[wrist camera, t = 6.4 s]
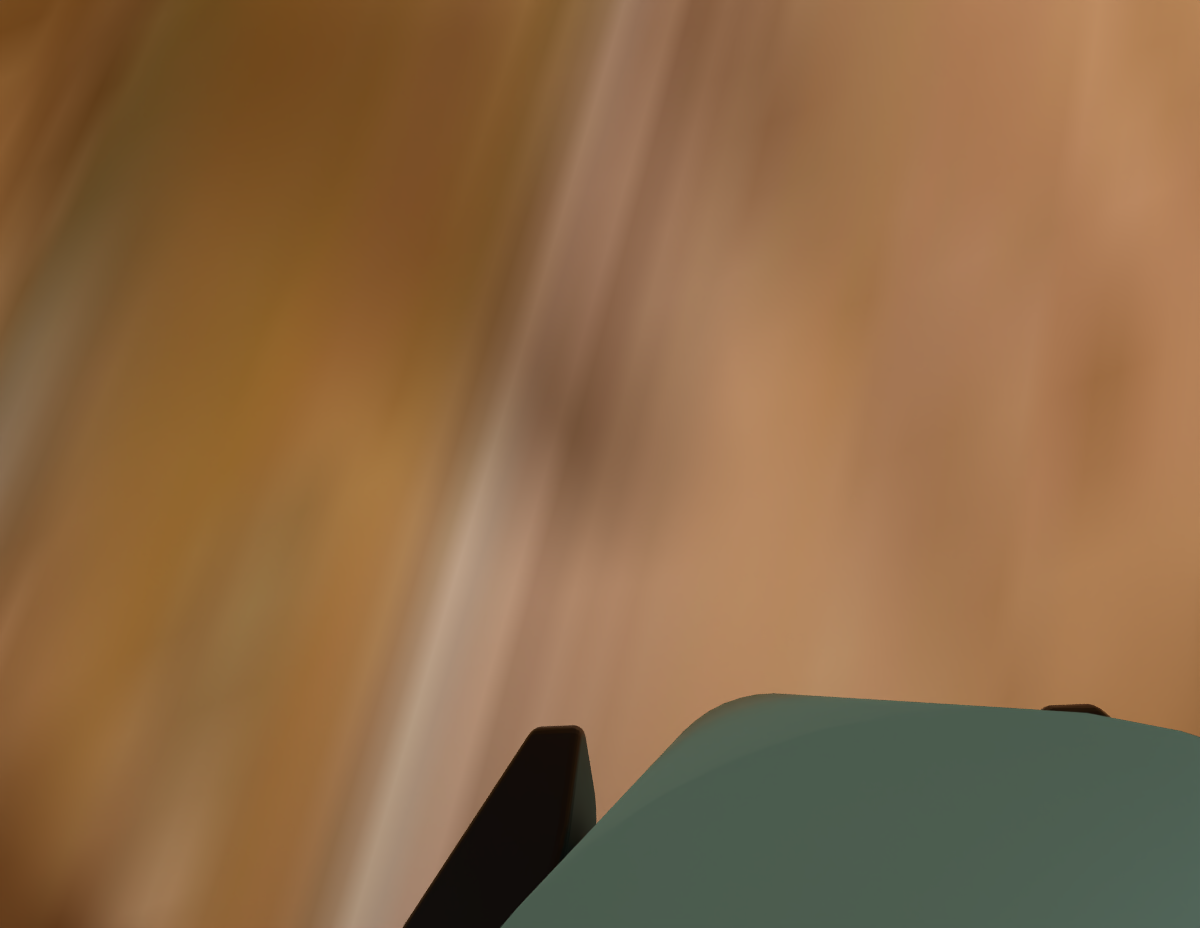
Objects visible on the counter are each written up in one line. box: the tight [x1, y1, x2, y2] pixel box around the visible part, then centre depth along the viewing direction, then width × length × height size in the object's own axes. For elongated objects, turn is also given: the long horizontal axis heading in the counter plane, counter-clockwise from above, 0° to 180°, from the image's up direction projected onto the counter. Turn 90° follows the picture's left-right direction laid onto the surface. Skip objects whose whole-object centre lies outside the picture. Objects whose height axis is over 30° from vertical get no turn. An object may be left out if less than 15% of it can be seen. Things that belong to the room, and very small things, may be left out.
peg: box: [501, 693, 1200, 928], centre depth 9 cm, size 4×4×13 cm
